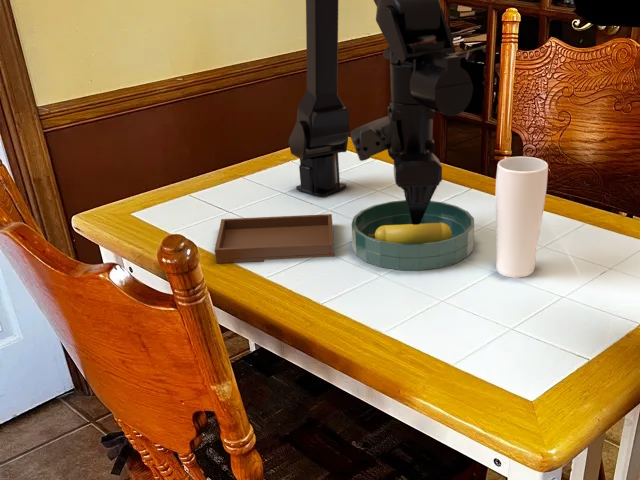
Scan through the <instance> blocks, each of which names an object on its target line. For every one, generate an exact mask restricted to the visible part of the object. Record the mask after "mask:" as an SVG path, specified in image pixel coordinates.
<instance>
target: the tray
mask: <svg viewBox="0 0 640 480" xmlns="http://www.w3.org/2000/svg"><path fill="white" fill-rule="evenodd" d="M334 242H335V241H334V227H333V214H332V213H326V214H325V213H324V214H323V213H322V214H303V215H282V216H281V215H279V216H260V217H257V216H256V217H239V218H238V217H237V218H221V220H220V224H219V228H218V232H217V238H216V242H215V245H214V246H215V247H214V255H215V261H216V264H231V263H232V264H233V263H251V262H253V263H254V262H265V261H270V260H289V259H290V260H291V259H292V260H293V259H310V258H311V259H312V258H313V259H314V258H334V257H335V243H334Z"/></svg>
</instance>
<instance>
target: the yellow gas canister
mask: <svg viewBox="0 0 640 480" xmlns="http://www.w3.org/2000/svg"><path fill="white" fill-rule="evenodd" d="M451 236H452V231H451V229H450V227H449V226H448V225H447V224H445V223H425V224H419V225H413V224H403V225H384V226H380V227H379V228H378V229H377V230H376V232H375V234H368V237H371V238H374V239H377V240H380V241H385V242H392V243H399V244H423V243H432V242H439V241H443V240H447V239H451Z"/></svg>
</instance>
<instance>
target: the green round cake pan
mask: <svg viewBox="0 0 640 480" xmlns="http://www.w3.org/2000/svg"><path fill="white" fill-rule="evenodd" d="M425 223H445V224H447V225H448V226H449V227H450V229H451V231H452V236H451V239H447V240H443V241H439V242H432V243H423V244H399V243H392V242H385V241H380V240H377V239H374V238H371V237H368V234H375V232H376V230H377V229H378V228H379V227H380V226H384V225H403V224H412V221H411V216H410V211H409V206H408V202H406V199H403V200H393V201H392V200H391V201H386V202H382V203H378V204H374V205H371V206H369V207H367V208H365V209H361V210H360V211H359V212H358V213H357V214H355V215H354V216H353V219H352V221H351V225H350V226H351V240H352V250H353V251H354V253H355V256H356V257H357V258H360V259H361V260H362V261H364V262H365V263H367V264H371V265H374V266H376V267H379V268H385V269H392V270H396V271H426V270H434V269H441V268H444V267H448V266H452V265H455V264H457V263H459V262H461V261H463V260H465V259H466V258H468V257H469V255H470V254H471V253H472V252H473V251H474V237H475V218H474V216H473V215H472V214H471V213H470V212H469V211H468V210H465V209H464V208H462V207H460V206H457V205H455V204H451V203H447V202H443V201H435V200H430V202H429V204H428V207H427V209H426V211H425V213H424V216H423V218H422V220H421V222H420V224H425Z"/></svg>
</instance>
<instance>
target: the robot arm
mask: <svg viewBox="0 0 640 480" xmlns="http://www.w3.org/2000/svg"><path fill="white" fill-rule="evenodd" d="M373 2H374V4H375V6H376V11H375V12H376V13H375V15H376V16H375V21H376V25H378V27H379V29H380V31H381V34H382V35H383V37H384V39H385V41H386V42H387V44H388V47H387V48H386V49H385V50H384V51H383V53H382V56H383V59H386V60H389V69H390V71H389V72H390V76H389V77H390V103H389V106H387V115H386V116H384V117H381V118H377V119H375V120H373V121H370V122H368V123H365V124H363V125H361V126H358V127H356V128H354V129H352V130H351V131H350V124H349V121H350V111H349V109H348V108H347V107H345V105H344V103H343V102H342V100H341V97H340V96H339V93H338V81H339V80H338V76H339V75H338V72H339V71H338V69H339V67H338V66H339V63H338V62H339V0H305V31H306V32H305V33H306V34H305V35H306V37H305V38H306V41H305V42H306V90H305V93H304V95H303V96H302V98H301V99H300V101H299V103H298V105H297V112H296V122H295V125H294V127H293V129H292V131H291V134H290V135H289V139H288V145H289V150H290V154H291V155H293V156H294V157H296V158H298V159H299V165H298V168H299V169H298V171H299V181H300V184H299V185H296V186H295V190H296V191H300V192H303V193H307V194H310V195H313V196H315V197H316V196H317V197H321V198H323V197H326V196H328V195H331V194H333V193H337V192H338V191H341V190H344V189H346V188H347V184H346V183H343V182H340V179H341V178H340V163H339V153H340V154H341V153H347V151H348V143H349V134H350V139H351V142H352V144H353V147H354V149H355V152H356V154H357V157H358V160H359V161H360V162H365V161H367V160H369V159H371V157H372V156H375V155H377V154H379V153H382V152H384V151H387V154H388V156H389V158H390V159H392V160H393V178H394V182H395V185H396V186H397V187H398V188H401V189H402V190H403V193H404V198H405V199H404V200H406V202H408V206H409V211H410V216H411V221H412V224H413V225H419V224H420V222H421V220H422V218H423V216H424V213H425V211H426V209H427V207H428V204H429V202H430V201H432V198H433V196H434V194H435V191H436V190H437V188H438V186H439V185H440V183H442V181H443V166H442V164H441V162H440V159H439V158H438V157H437V156H436V155H435V154H434V153H433V152H430V151H435V149H436V148H435V144H436V143H435V140H434V139H433V138H434V136H433V135H434V134H433V133H434V120H435V119H436V112H437V113H440V114H442V115H445V116H446V117H456V116H458V115H461V113H463V112H464V111H465V110H466V108H468V106H469V104H470V102H471V100H472V97H473V93H474V84H473V83H472V79H471V76H470V74H469V73H468V71H466V69H464V68H462V67H461V57H460V56H459V55H455V53H456V47H455V44H454V40H455V38H454V36H453V33H452V32H451V30H450V27H449V25H448V22H447V19H446V16H445V14H444V13H445V12H444V11H443V8H442V5H441V2H440V0H373Z"/></svg>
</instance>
